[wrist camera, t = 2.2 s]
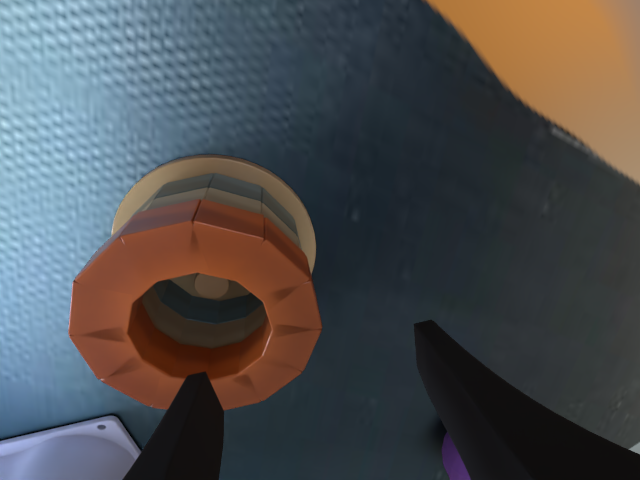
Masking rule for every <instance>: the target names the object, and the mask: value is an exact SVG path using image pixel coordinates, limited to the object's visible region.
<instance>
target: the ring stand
mask: <svg viewBox="0 0 640 480" xmlns="http://www.w3.org/2000/svg"><path fill="white" fill-rule="evenodd" d="M196 199H200V200H201V201H202V199H205V200H209V201H212V202H216V203H220V204H224V205H228V206H231V207H235V208H239V209H243V210H246V211H250V212H254V213H258V214H262V215H264V218H265V217H266V218H268V219H269V220H270V221H271V222H272V223H273V224H274V225H275V226H276V227H278V228H279V229H280V230H281V231H282V232H283V233H284V234H285V235H286V236H287V237H288V238H289V239H290V240H291V241H292V242H293V243H295V244H296V245H297V246H298V247H299V248H300V249H301V250H302V251H303V252H304V253H305V255H306V256H307V259H308V263H309V267H310V272H311V274H312V270H313V267H314V263H315V257H316V241H315V233H314V229H313V226H312V222H311V219H310V216H309V214H308V212H307V210H306V208H305V206H304V204H303V203H302V201H301V200H300V198H299V197H298V196H297V194H296V193H295V192H294V191H293V190H292V188H291V187H290V186H288V185H287V184H286V183H285V182H284V181H283V180H282V179H281V178H279V177H278V176H276V175H275V174H273V173H272V172H271V171H269V170H267V169H265V168H263V167H261V166H259V165H257V164H255V163H252V162H249V161H247V160H244V159H240V158H236V157H231V156H225V155H215V154H211V155H194V156H188V157H183V158H180V159H176V160H173V161H170V162H168V163H165V164H163V165H161V166H159V167H157V168H155V169H154V170H152V171H151V172H149V173H147V174H146V175H145V176H144V177H143V178H141V179H140V180H139V181H138V182H137V183H136V184H135V185H134V186H133V187H132V189H131V190H130V191H129V192H128V193H127V194H126V196H125V197H124V199H123V201H122V202H121V204H120V206H119V208H118V210H117V213H116V215H115V218H114V222H113V227H112V236H113V235H114V234H115V233H116V232H117V231H118V230H119V229H120V228H121V227H122V226H123V225H124V224H125V223H126V222H127V221H128V220H129V219H130V218H131V217H132V216H133V215H136V214H137V213H138V212H141V211H146V210H151V209H155V208H160V207H164V206H169V205H173V204H178V203H183V202H187V201H192V200H196ZM142 303H143V305H144V307H145V309H146V311H147V313H148V315H149V317H150V319H151V321H152V323H153V325H154V326H155V328H157V329H158V330H160V331H161V332H163V333H164V334H166V335H167V336H169V337H171V338H172V339H174V340H175V341H177V342H178V343H180V344H186V345H192V346H198V347H204V348H210V349H212V348H217V347H221V346H225V345H230V344H234V343H239V342H241V341H243V340H244V339H245V338H246V337H248V336H249V335H250V334H251V333H253V332H254V331H255V330H256V329H258V328H259V327H260V326H262V325H263V322H264V319H265V316H266V314H267V313H266V310H265V307H264V304H263V302H262V301H261V300H260V299H259V298H257V297H256V296H255V295H253V294H252V293H251V292H250V291H248V290H247V289H246V288H245V287H243V286H242V285H241V284H240V283H238V282H237V281H233V280H229V279H224V278H219V277H214V276H210V275H205V274H200V273H194V274H189V275H185V276H180V277H176V278H171V279H167V280H162V281H158V282H156V283H155V284H154V285H153V286H152V287H151V288H150V289H149V290H148V291H146V292H145V293H144V294H143V300H142Z"/></svg>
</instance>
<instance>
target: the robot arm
mask: <svg viewBox="0 0 640 480" xmlns="http://www.w3.org/2000/svg"><path fill="white" fill-rule="evenodd" d="M414 332H415V346H416V360H417V367H418V370H419V373H420V375H421V378H422V381H423V383H424V386H425V388H426V391H427V393H428V395H429V397H430V399H431V401H432V403H433V405H434V407H435V409H436V411H437V413H438V415H439V417H440V419H441V421H442V422H443V424H444V426H445V428H446V430H447V432H448V434H449V436H450V438H451V440H452V442H453V443H454V445H455V447H456V449H457V451H458V453H459V455H460V457H461V459H462V461H463V463H464V465H465V467H466V469H467V472H468V474H469V476H470V479H471V480H640V454H638V453H635V452H633V451H631V450H628V449H626V448H623V447H621V446H619V445H617V444H615V443H613V442H611V441H608V440H606V439H604V438H602V437H600V436H598V435H596V434H594V433H592V432H590V431H588V430H586V429H584V428H582V427H580V426H579V425H577V424H575V423H573V422H571V421H569V420H567V419H566V418H564V417H562V416H560V415H558V414H556V413H554V412H553V411H551V410H549V409H548V408H546V407H544V406H543V405H541V404H539V403H538V402H536V401H535V400H533V399H531V398H530V397H528V396H527V395H525V394H524V393H522V392H521V391H519V390H518V389H516V388H515V387H513V386H512V385H510V384H509V383H507V382H506V381H505V380H503V379H502V378H501V377H499V376H498V375H496V374H495V373H494V372H492V371H491V370H490V369H489V368H487V367H486V366H485V365H483V364H482V363H481V362H480V361H478V360H477V359H476V358H475V357H473V356H472V355H471V354H470V353H469V352H467V351H466V350H465V349H464V348H463V347H461V346H460V345H459V344H458V343H457V342H456V341H455V340H454V339H452V338H451V337H450V336H449V335H448V334H447V333H446V332H445V331H444V330H443V329H441V328H440V327H439V326H438V325H437V324H436V323H435V322H434V321H432V320H428V321H424V322H419V323H415V324H414ZM223 437H224V410H223V408H222V406H221V404H220V401H219V399H218V397H217V395H216V393H215V391H214V388H213V386H212V384H211V382H210V380H209V378H208V375H207V373H206V371H204V372H200V373H196V374H191V375H188V376H187V377H186V379H185V380H184V382H183V384H182V385H181V387H180V389H179V391H178V392H177V394H176V396H175V398H174V399H173V401H172V403H171V405H170V406H169V408H168V410H167V411H166V413H165V415H164V417H163V418H162V420H161V422H160V423H159V425H158V426H157V428H156V430H155V431H154V433H153V435H152V436H151V438H150V439H149V441H148V443H147V444H146V446H145V447H144V449H143V450H142V452H141V451H140V449H139V448H138V447H137V445H136V444H135V442H134V441H133V439H132V438H131V436H130V435H129V433H128V432H127V431H126V429H125V428H124V426H123V425H122V423H121V422H120V420H119V419H118V418H117V417H115V416H105V417H101V418H97V419H93V420H88V421H84V422H80V423H75V424H71V425H67V426H63V427H58V428H54V429H50V430H45V431H41V432H37V433H33V434H28V435H24V436H20V437H15V438H11V439H7V440H3V441H0V480H219V472H220V465H221V457H222V449H223Z"/></svg>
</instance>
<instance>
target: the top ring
mask: <svg viewBox="0 0 640 480" xmlns="http://www.w3.org/2000/svg"><path fill="white" fill-rule="evenodd" d="M194 273H200V274H205V275H210V276H214V277H219V278H224V279H229V280H233V281H237V282H238V283H240V284H241V285H242V286H243V287H245V288H246V289H247V290H248V291H250V292H251V293H252V294H253V295H255V296H256V297H257V298H259V299H260V300H261V301H262V302H263V304H264V307H265V310H266V313H267V314H266V316H265V319H264V322H263V325H262V326H260V327H259V328H258V329H256V330H255V331H254V332H253V333H251V334H250V335H249V336H248V337H246V338H245V339H244V340H243V341H241V342H239V343H234V344H230V345H225V346H221V347H217V348H212V349H210V348H204V347H198V346H192V345H186V344H180V343H178V342H177V341H175V340H174V339H172V338H171V337H169V336H167V335H166V334H164V333H163V332H161V331H160V330H158V329H157V328H155V326H154V325H153V323H152V321H151V319H150V317H149V315H148V313H147V311H146V309H145V307H144V305H143V303H142V300H143V294H144V293H145V292H146V291H148V290H149V289H150V288H151V287H152V286H153V285H154V284H155V283H156V282H158V281H162V280H167V279H171V278H176V277H180V276H185V275H189V274H194ZM321 331H322V322H321V317H320V312H319V307H318V302H317V297H316V293H315V289H314V285H313V280H312V276H311V272H310V267H309V263H308V259H307V256H306V255H305V253H304V252H303V251H302V250H301V249H300V248H299V247H298V246H297V245H296V244H295V243H293V242H292V241H291V240H290V239H289V238H288V237H287V236H286V235H285V234H284V233H283V232H282V231H281V230H280V229H279V228H278V227H276V226H275V225H274V224H273V223H272V222H271V221H270V220H269V219H268V218H266V217H265V218H264V215H262V214H258V213H254V212H250V211H246V210H243V209H239V208H235V207H231V206H228V205H224V204H220V203H216V202H212V201H209V200H205V199H202V201H201V200H200V199H196V200H192V201H187V202H183V203H178V204H173V205H169V206H164V207H160V208H155V209H151V210H146V211H141V212H138V213H137V214H136V215H133V216H132V217H131V218H130V219H129V220H128V221H127V222H126V223H125V224H124V225H123V226H122V227H121V228H120V229H119V230H118V231H117V232H116V233H115V234H114V235H113V236H112V237H111V238H110V239H109V240H108V241H107V242H105V243H104V244H103V245H102V246H101V247H100V248H99V249H98V250H97V251H96V252H95V254H94V255H93V256H92V257H91V259H90V260H89V261H88V262H87V264H86V265H85V266H84V268H83V269H82V270H81V271H80V273H79V274H78V275H77V276H76V278H75V280H74V281H73V283H72V295H71V306H70V317H69V329H68V334H69V337H70V339H71V340H72V342H73V343H74V345H75V346H76V348H77V349H78V351H79V352H80V353H81V355H82V356H83V358H84V359H85V361H86V362H87V364H88V365H89V367H90V368H91V370H92V371H93V373H94V374H95V376H96V377H97V379H101V381H102V382H103V383H105V384H107V385H109V386H111V387H113V388H115V389H117V390H118V391H120V392H122V393H124V394H126V395H128V396H130V397H132V398H133V399H135V400H137V401H139V402H141V403H143V404H145V405H147V406H152V408H159V409H167V410H168V408H169V406H170V405H171V403H172V401H173V399H174V398H175V396H176V394H177V392H178V391H179V389H180V387H181V385H182V384H183V382H184V380H185V379H186V377H187V376H188V375H191V374H196V373H200V372H204V371H206V373H207V375H208V378H209V380H210V382H211V384H212V386H213V388H214V391H215V393H216V395H217V397H218V399H219V401H220V404H221V406H222V408H223V410H228V409H233V408H237V407H241V406H245V405H250V404H254V403H258V402H261V400H262V401H264V400H265V399H267V398H268V397H270V396H271V395H272V394H274V393H275V392H276V391H278V390H279V389H281V388H282V387H283V386H285V385H286V384H287V383H289V382H290V381H292V380H293V379H294V378H296V377H297V376H298V375H300V374H301V373H302V371H304V369H305V367H306V365H307V362H308V360H309V358H310V356H311V353H312V351H313V349H314V347H315V344H316V342H317V340H318V337H319V335H320V333H321Z"/></svg>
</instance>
